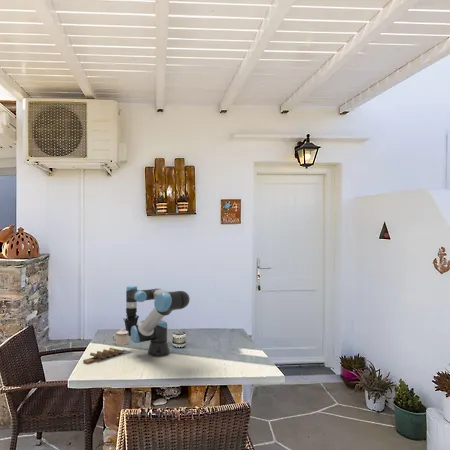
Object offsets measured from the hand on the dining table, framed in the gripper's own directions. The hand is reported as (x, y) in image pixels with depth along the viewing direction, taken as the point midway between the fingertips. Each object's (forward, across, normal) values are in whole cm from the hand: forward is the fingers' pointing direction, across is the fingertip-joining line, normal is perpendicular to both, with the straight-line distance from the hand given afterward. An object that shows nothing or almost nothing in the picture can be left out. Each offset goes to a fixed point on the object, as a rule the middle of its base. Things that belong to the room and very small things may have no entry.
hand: (130, 340), depth 304 cm
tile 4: (+7, +23, -1) cm, 24 cm away
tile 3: (+7, +18, 0) cm, 19 cm away
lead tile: (+7, +8, 0) cm, 10 cm away
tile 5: (+7, +28, -1) cm, 29 cm away
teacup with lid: (+8, -7, -19) cm, 22 cm away
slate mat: (+8, +17, 0) cm, 19 cm away
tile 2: (+7, +13, 0) cm, 14 cm away
